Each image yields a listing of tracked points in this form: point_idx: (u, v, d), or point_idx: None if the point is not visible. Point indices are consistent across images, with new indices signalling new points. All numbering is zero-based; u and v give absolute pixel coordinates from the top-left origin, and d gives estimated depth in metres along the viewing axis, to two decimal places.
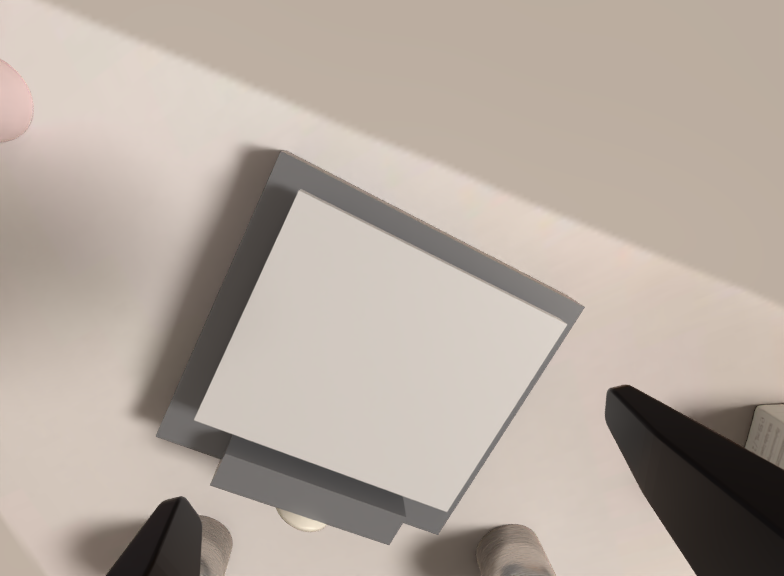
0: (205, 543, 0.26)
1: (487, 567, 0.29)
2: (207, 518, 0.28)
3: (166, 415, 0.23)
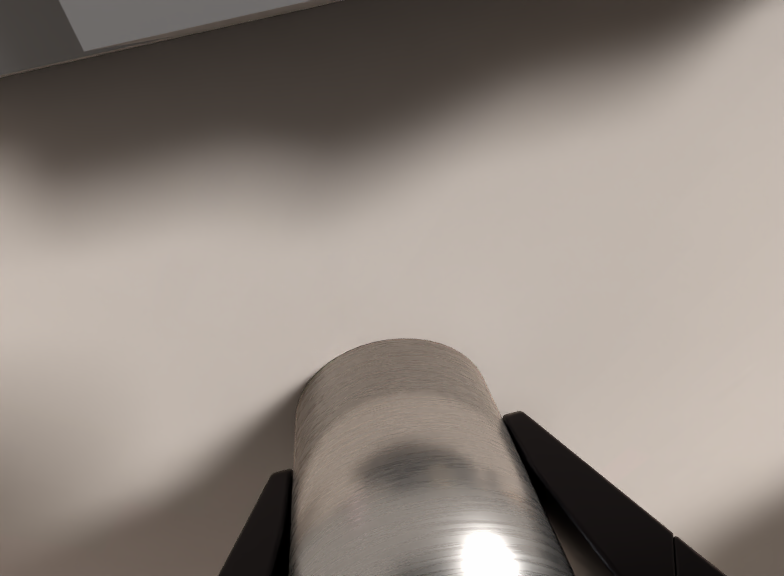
0: (402, 404, 0.08)
1: None
2: (371, 347, 0.09)
3: None
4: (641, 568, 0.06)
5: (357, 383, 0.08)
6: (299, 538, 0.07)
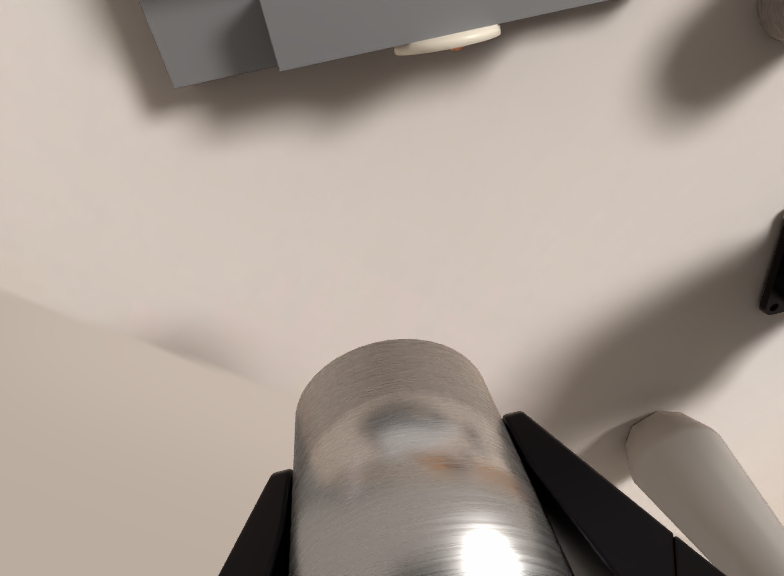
0: (402, 404, 0.08)
1: None
2: (371, 348, 0.09)
3: (156, 38, 0.14)
4: (641, 568, 0.06)
5: (357, 383, 0.08)
6: (299, 538, 0.07)
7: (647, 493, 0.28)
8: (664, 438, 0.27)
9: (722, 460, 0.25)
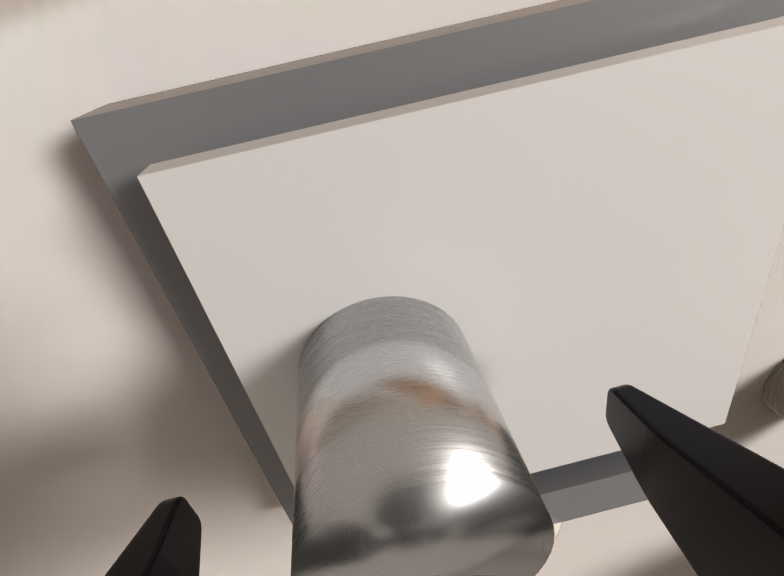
0: (390, 344, 0.09)
1: None
2: (364, 303, 0.11)
3: (290, 515, 0.17)
4: None
5: (352, 330, 0.10)
6: (303, 450, 0.08)
7: None
8: None
9: None
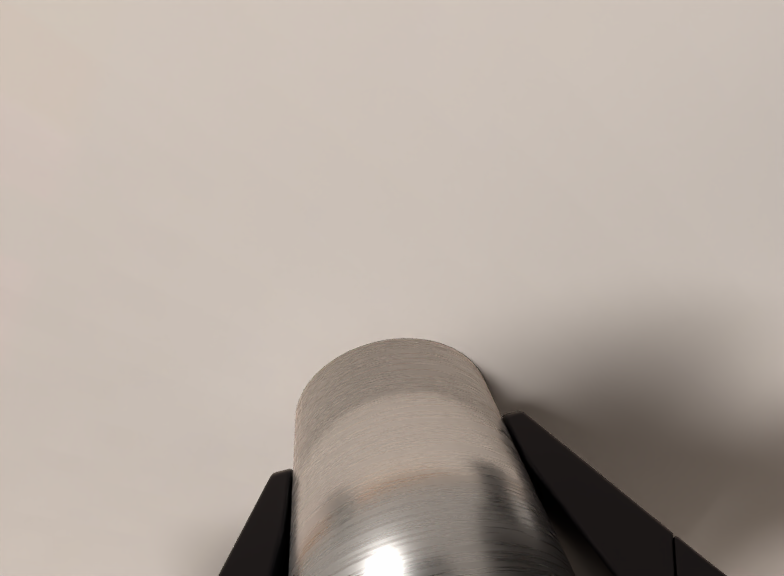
0: None
1: None
2: None
3: None
4: (641, 568, 0.06)
5: None
6: None
7: None
8: None
9: None
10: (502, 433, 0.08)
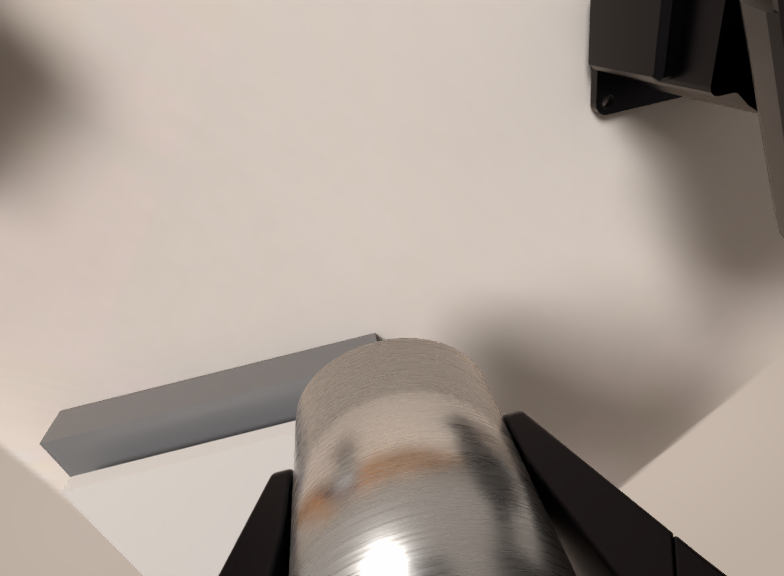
0: None
1: None
2: None
3: None
4: (641, 568, 0.06)
5: None
6: None
7: None
8: None
9: None
10: (502, 433, 0.08)
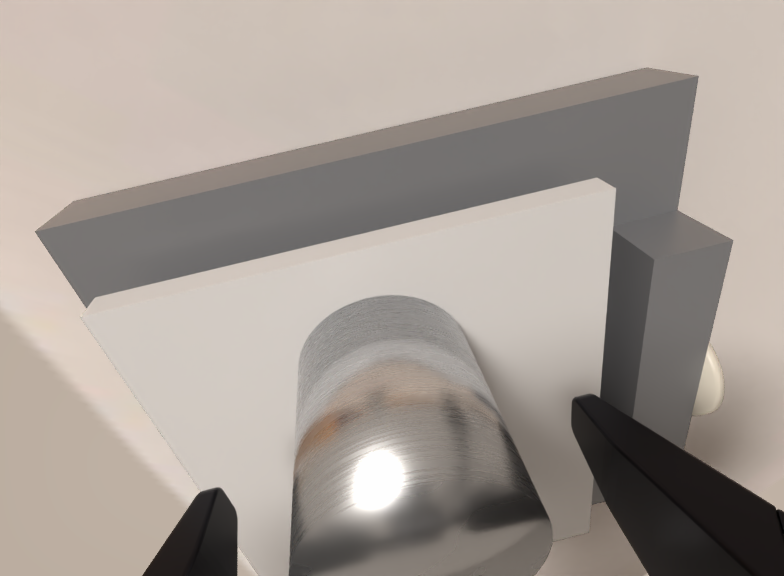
0: None
1: None
2: None
3: (602, 501, 0.20)
4: (750, 540, 0.06)
5: None
6: None
7: None
8: None
9: None
10: (475, 370, 0.09)
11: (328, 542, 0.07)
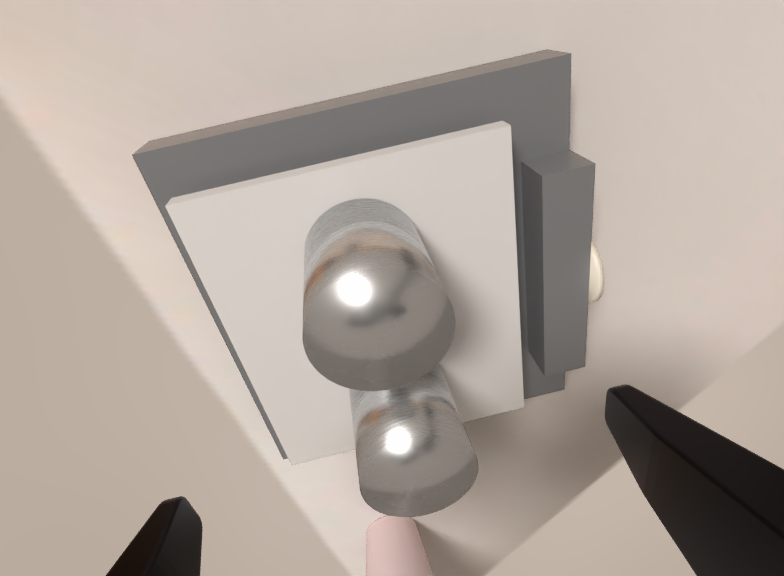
0: (353, 412, 0.19)
1: None
2: (349, 391, 0.20)
3: (540, 394, 0.25)
4: None
5: (351, 411, 0.20)
6: None
7: None
8: None
9: None
10: (416, 238, 0.15)
11: (324, 307, 0.12)
